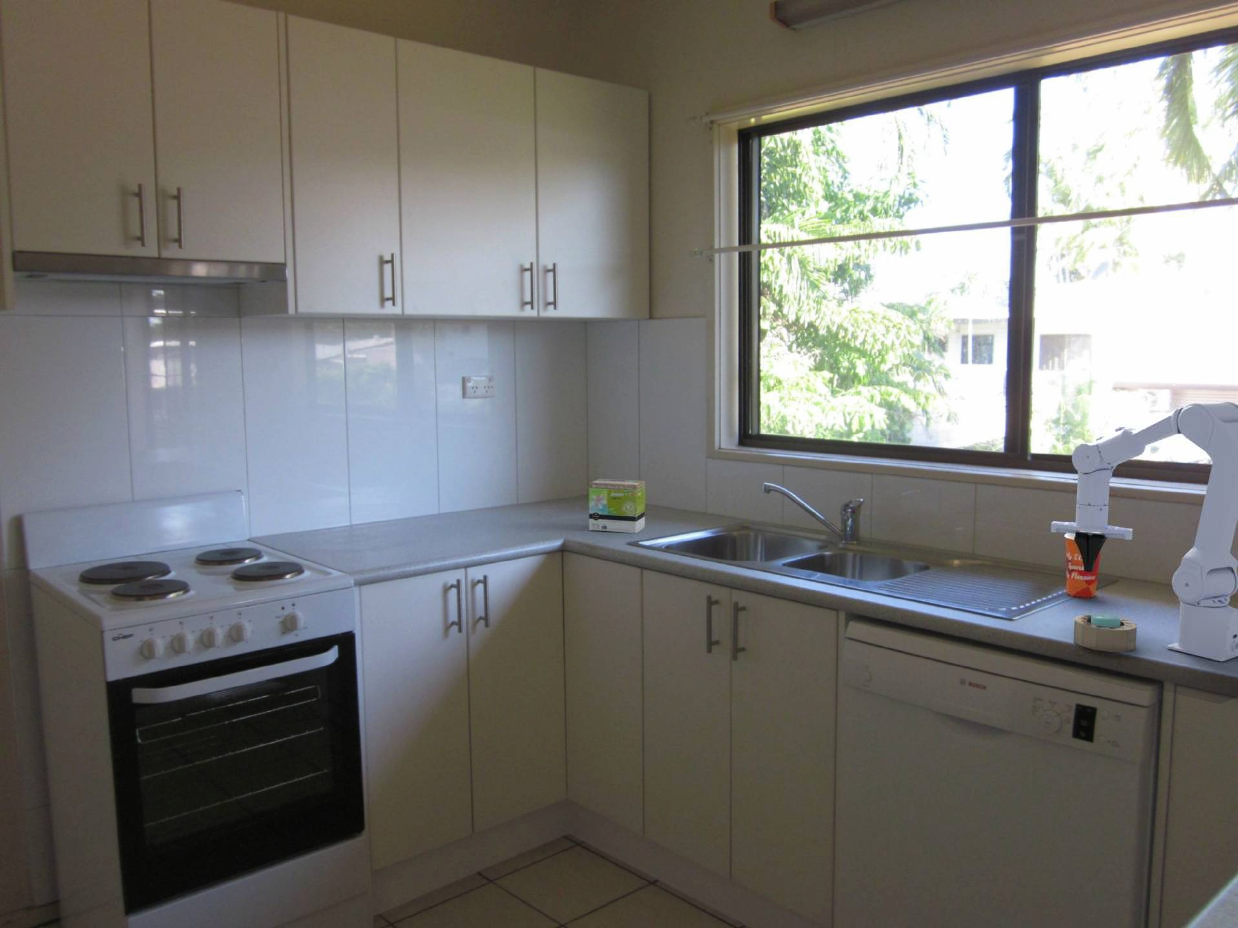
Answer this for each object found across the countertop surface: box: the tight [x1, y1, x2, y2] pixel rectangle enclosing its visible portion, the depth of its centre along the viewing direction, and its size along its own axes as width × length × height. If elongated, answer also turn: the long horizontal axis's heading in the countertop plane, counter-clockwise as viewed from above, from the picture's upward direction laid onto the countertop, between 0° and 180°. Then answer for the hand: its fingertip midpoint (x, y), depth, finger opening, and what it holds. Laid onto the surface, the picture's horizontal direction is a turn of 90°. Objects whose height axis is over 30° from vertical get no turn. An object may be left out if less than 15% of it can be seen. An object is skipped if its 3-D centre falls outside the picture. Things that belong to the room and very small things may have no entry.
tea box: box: [588, 478, 646, 534], centre depth 294 cm, size 15×10×15 cm, turn 73°
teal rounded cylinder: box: [1090, 613, 1122, 627], centre depth 179 cm, size 5×5×5 cm
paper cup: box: [1064, 531, 1102, 599], centre depth 214 cm, size 8×8×14 cm
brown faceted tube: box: [1073, 614, 1137, 653], centre depth 179 cm, size 10×10×4 cm
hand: (1088, 571), depth 196 cm, fingers closed
